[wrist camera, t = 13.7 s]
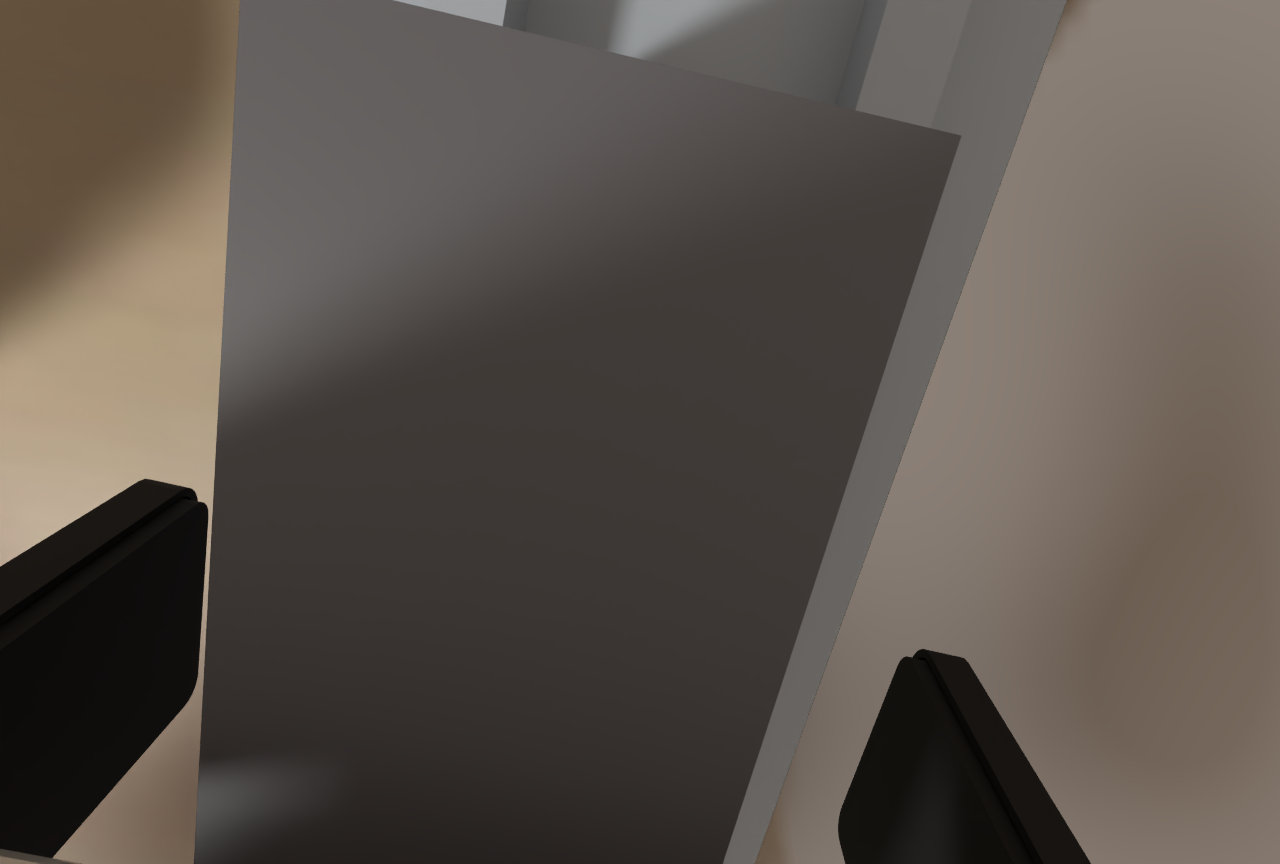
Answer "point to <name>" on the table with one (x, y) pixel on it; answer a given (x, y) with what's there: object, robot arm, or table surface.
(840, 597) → the picture ledge
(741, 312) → the picture frame
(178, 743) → the table surface
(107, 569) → the robot arm
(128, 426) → the table surface
